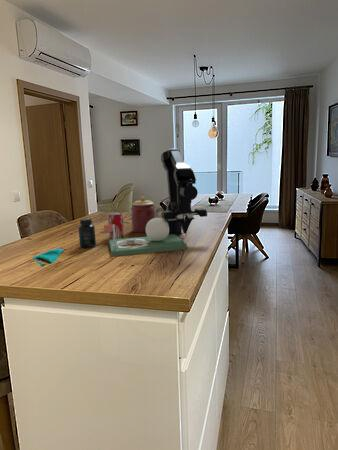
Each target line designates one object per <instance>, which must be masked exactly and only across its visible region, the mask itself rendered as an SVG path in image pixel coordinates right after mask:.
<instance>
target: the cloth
mask: <svg viewBox="0 0 338 450" xmlns="http://www.w3.org/2000/svg"><path fill="white" fill-rule="evenodd" d="M65 251H66V250H65V249H61V248H60V247H58V248H55V249H50V250H48V251H45V252H42V253H41V254H37V255H34V256H33V257H32V260H34V261H35V262H36V263H37V264H39V266H41V265H42V266H41V267H43V266H44V265H45V266H46V265H47V264H46V263H43V262H40V260H43V261H46V262H47V263H50V264H53V263H55V262H56V261H57V259H58V260H59V258H57V257H61V255H60V254H62V253H63V252H65ZM39 259H40V260H39ZM54 261H55V262H54ZM42 263H43V264H42Z"/></svg>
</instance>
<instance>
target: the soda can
mask: <svg viewBox="0 0 338 450" xmlns="http://www.w3.org/2000/svg"><path fill="white" fill-rule="evenodd" d="M122 214H123V213H122V212H118V211H117V212H109V213H108V217H107V219H108V220H107V221H108V223H107V225H115V239H124V238H125V224H124V216H123V215H122ZM108 236H109V238H110V240H112V239H113V231H108Z"/></svg>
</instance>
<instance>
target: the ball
mask: <svg viewBox="0 0 338 450" xmlns="http://www.w3.org/2000/svg"><path fill="white" fill-rule="evenodd" d="M145 234H146V237H149V238H150V239H151V240H153V241H162V240H164V239H165V238H166V237H167V236H168V235H169V226H168V223H167V222H166V221H165V219H163V218H162V217H156V218H153V219H151V220H150V221H149V222H148V223H147V225H146V233H145Z"/></svg>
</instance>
